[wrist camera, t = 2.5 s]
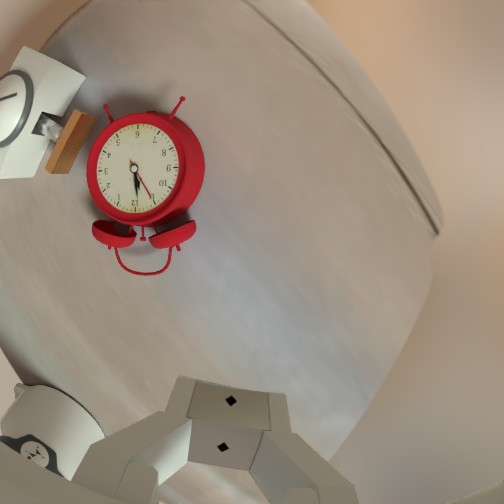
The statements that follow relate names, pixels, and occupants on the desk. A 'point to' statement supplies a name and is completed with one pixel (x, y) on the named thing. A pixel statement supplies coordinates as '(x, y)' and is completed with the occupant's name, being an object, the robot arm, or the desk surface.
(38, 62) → the dial gauge
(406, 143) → the desk surface
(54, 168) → the wooden handled metal scraper
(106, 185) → the alarm clock
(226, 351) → the desk surface
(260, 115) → the desk surface
